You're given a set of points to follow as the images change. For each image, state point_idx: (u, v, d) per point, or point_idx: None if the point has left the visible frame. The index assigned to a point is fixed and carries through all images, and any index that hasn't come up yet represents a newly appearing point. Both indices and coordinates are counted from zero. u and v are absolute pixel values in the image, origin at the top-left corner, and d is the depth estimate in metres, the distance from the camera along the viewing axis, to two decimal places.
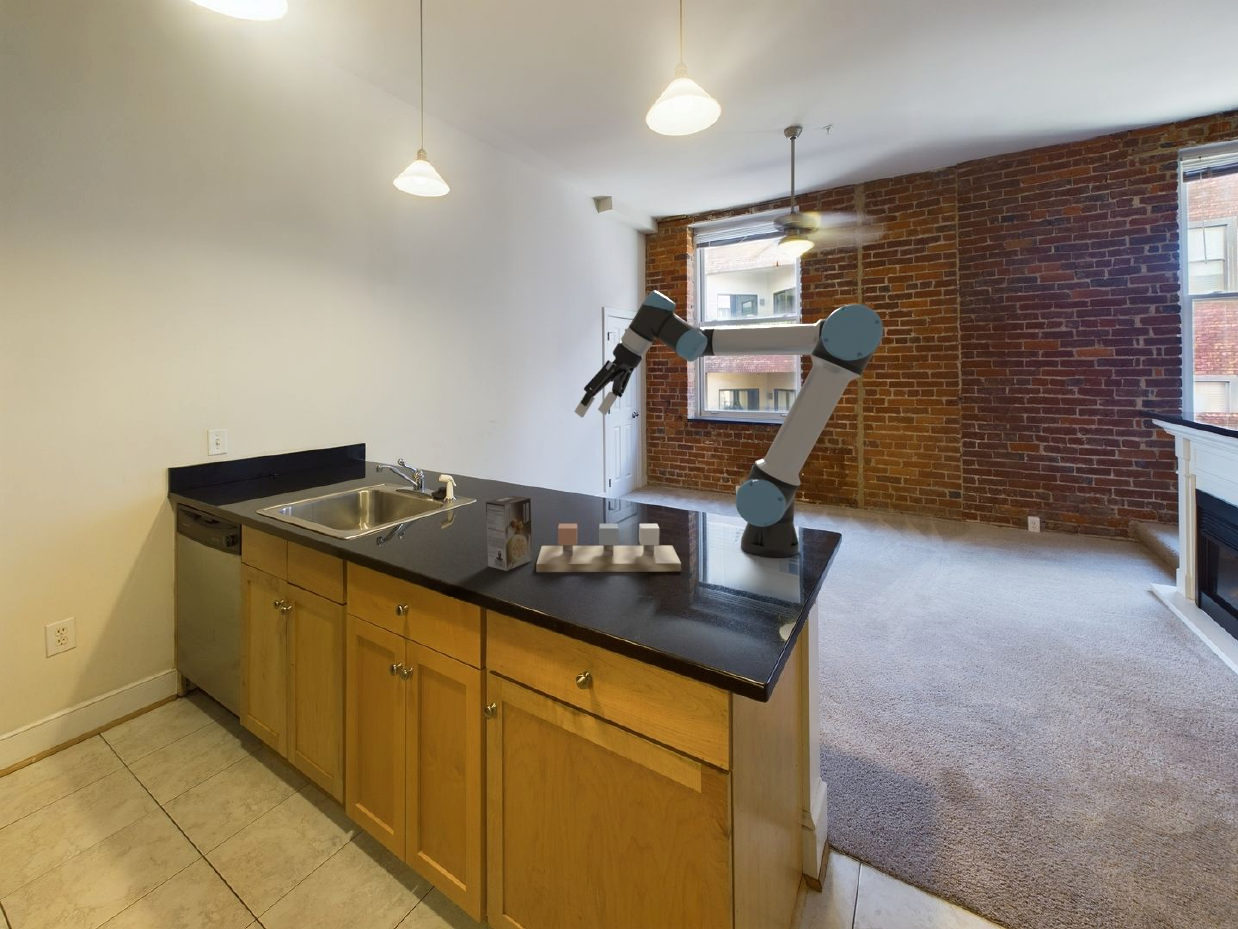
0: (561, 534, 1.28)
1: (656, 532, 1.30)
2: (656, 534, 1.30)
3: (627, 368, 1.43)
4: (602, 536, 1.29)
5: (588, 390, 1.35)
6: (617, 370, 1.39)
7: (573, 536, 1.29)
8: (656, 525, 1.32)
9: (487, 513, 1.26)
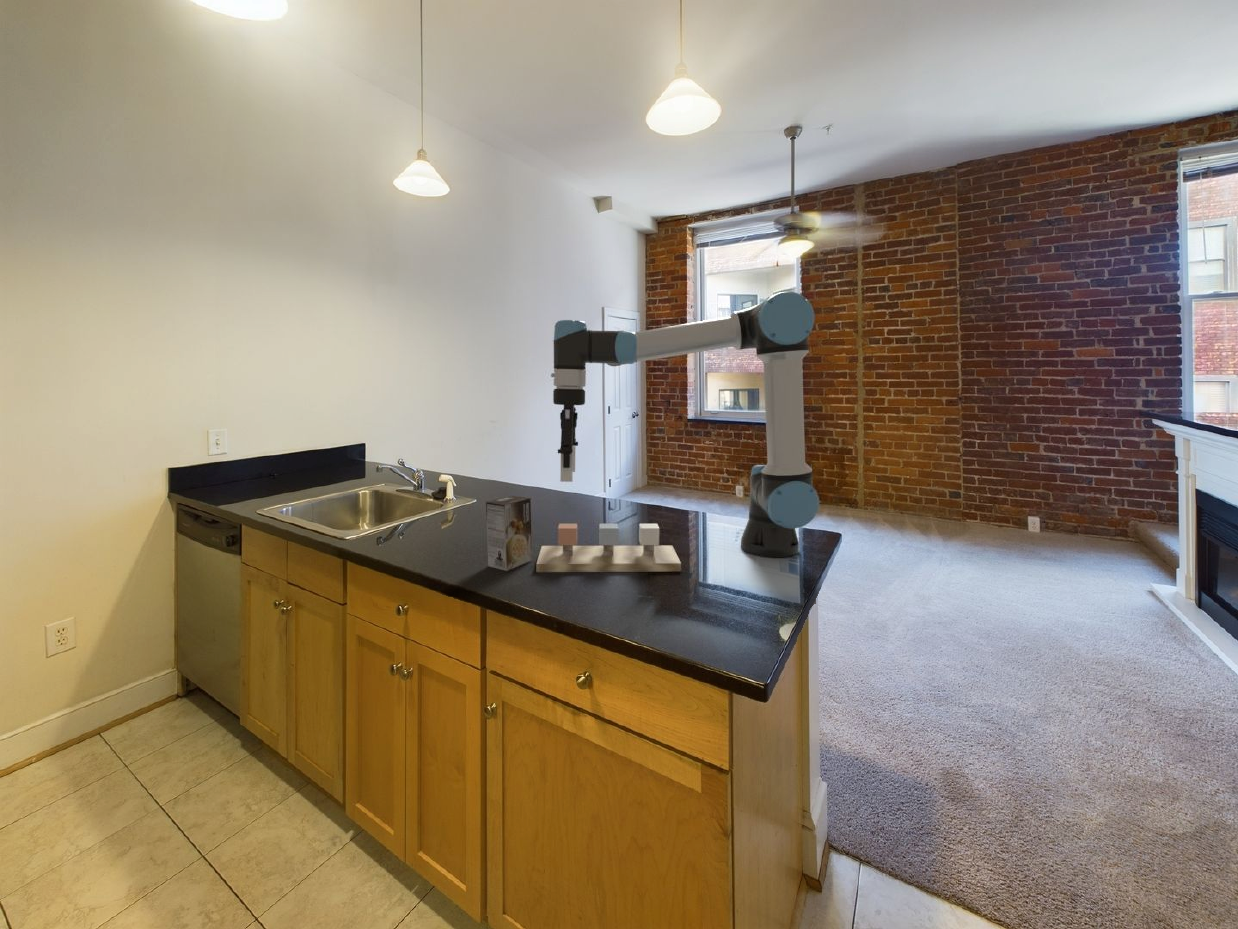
0: (561, 534, 1.28)
1: (656, 532, 1.30)
2: (656, 534, 1.30)
3: None
4: (602, 536, 1.29)
5: (566, 448, 1.18)
6: (573, 415, 1.24)
7: (573, 536, 1.29)
8: (656, 525, 1.32)
9: (487, 513, 1.26)
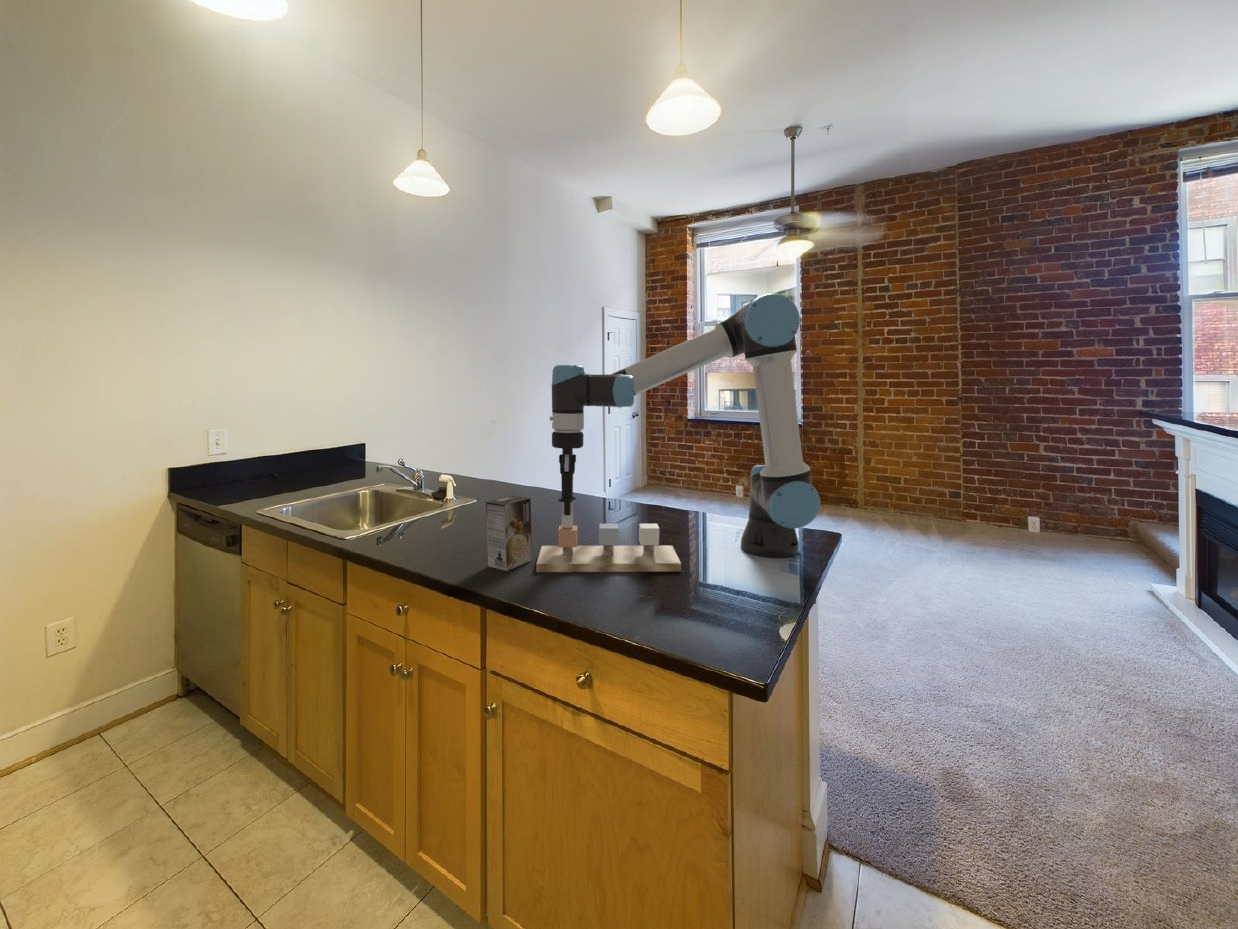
0: (561, 536, 1.29)
1: (656, 532, 1.30)
2: (656, 534, 1.30)
3: None
4: (602, 536, 1.29)
5: (567, 498, 1.26)
6: (571, 457, 1.25)
7: (573, 538, 1.29)
8: (656, 525, 1.32)
9: (487, 513, 1.26)
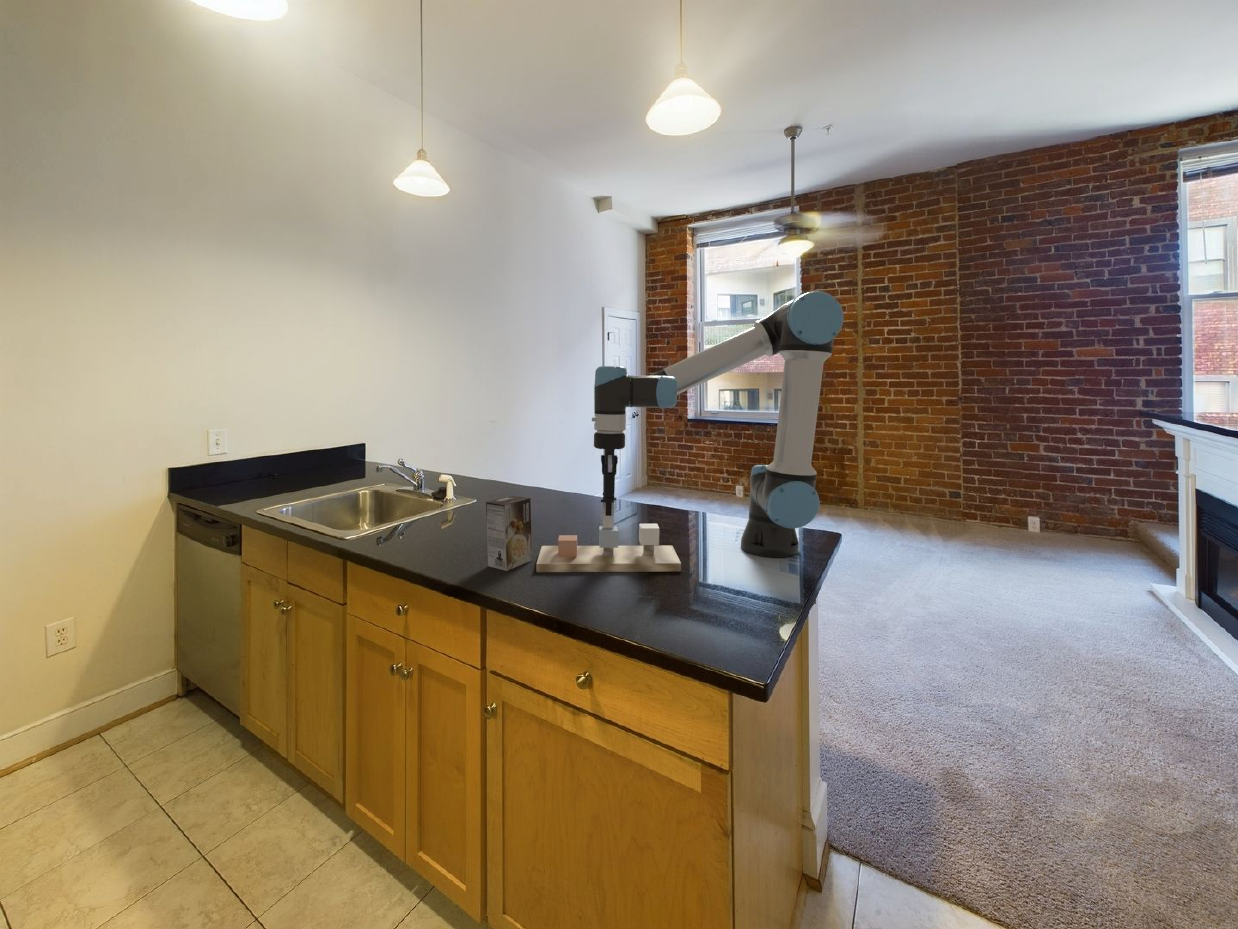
0: (561, 546, 1.29)
1: (656, 532, 1.30)
2: (656, 534, 1.30)
3: None
4: (602, 539, 1.29)
5: (609, 499, 1.26)
6: (614, 458, 1.26)
7: (573, 548, 1.29)
8: (656, 525, 1.32)
9: (487, 513, 1.26)
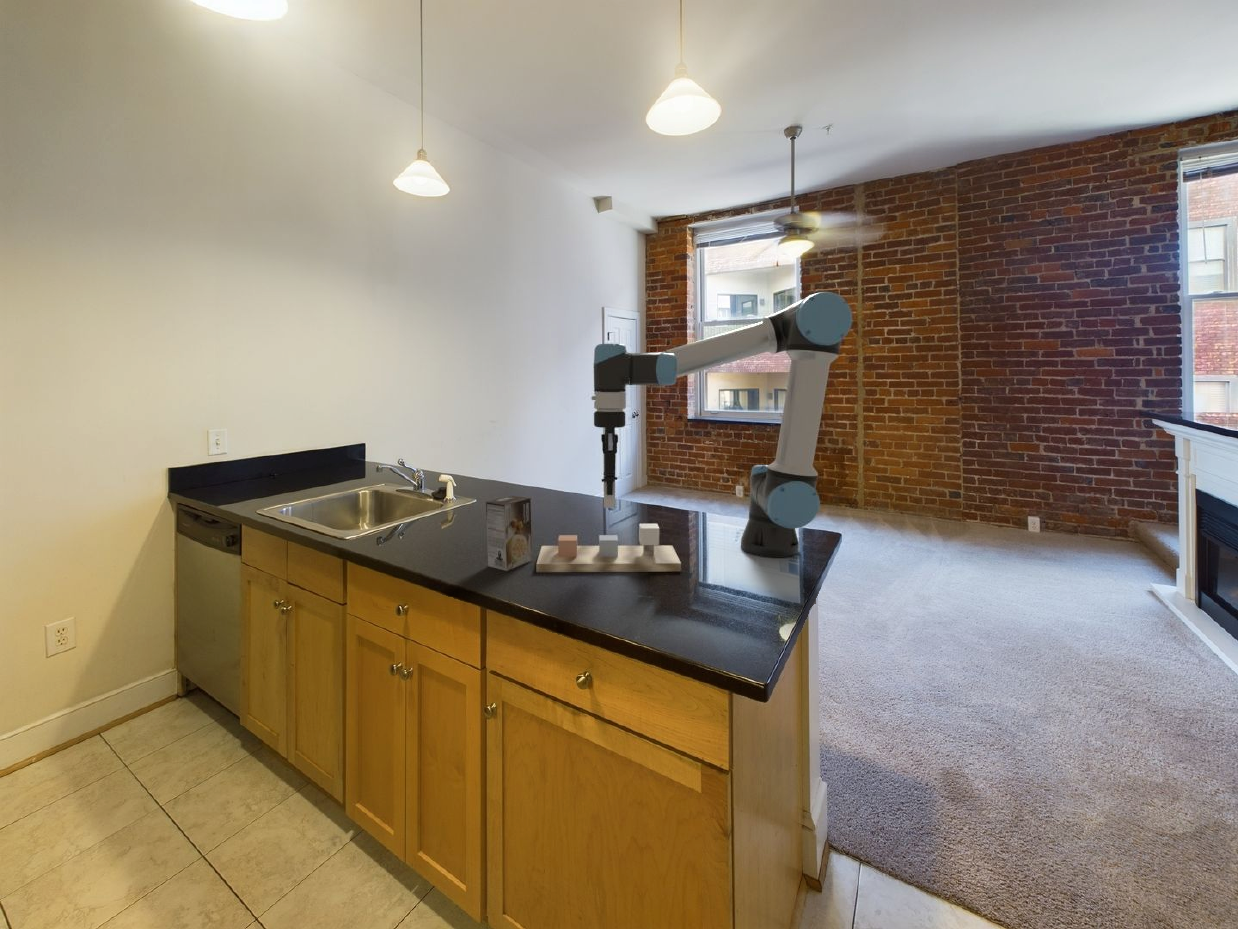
0: (561, 546, 1.29)
1: (656, 532, 1.30)
2: (656, 534, 1.30)
3: None
4: (602, 548, 1.30)
5: (610, 477, 1.26)
6: (614, 437, 1.25)
7: (573, 548, 1.29)
8: (656, 525, 1.32)
9: (487, 513, 1.26)
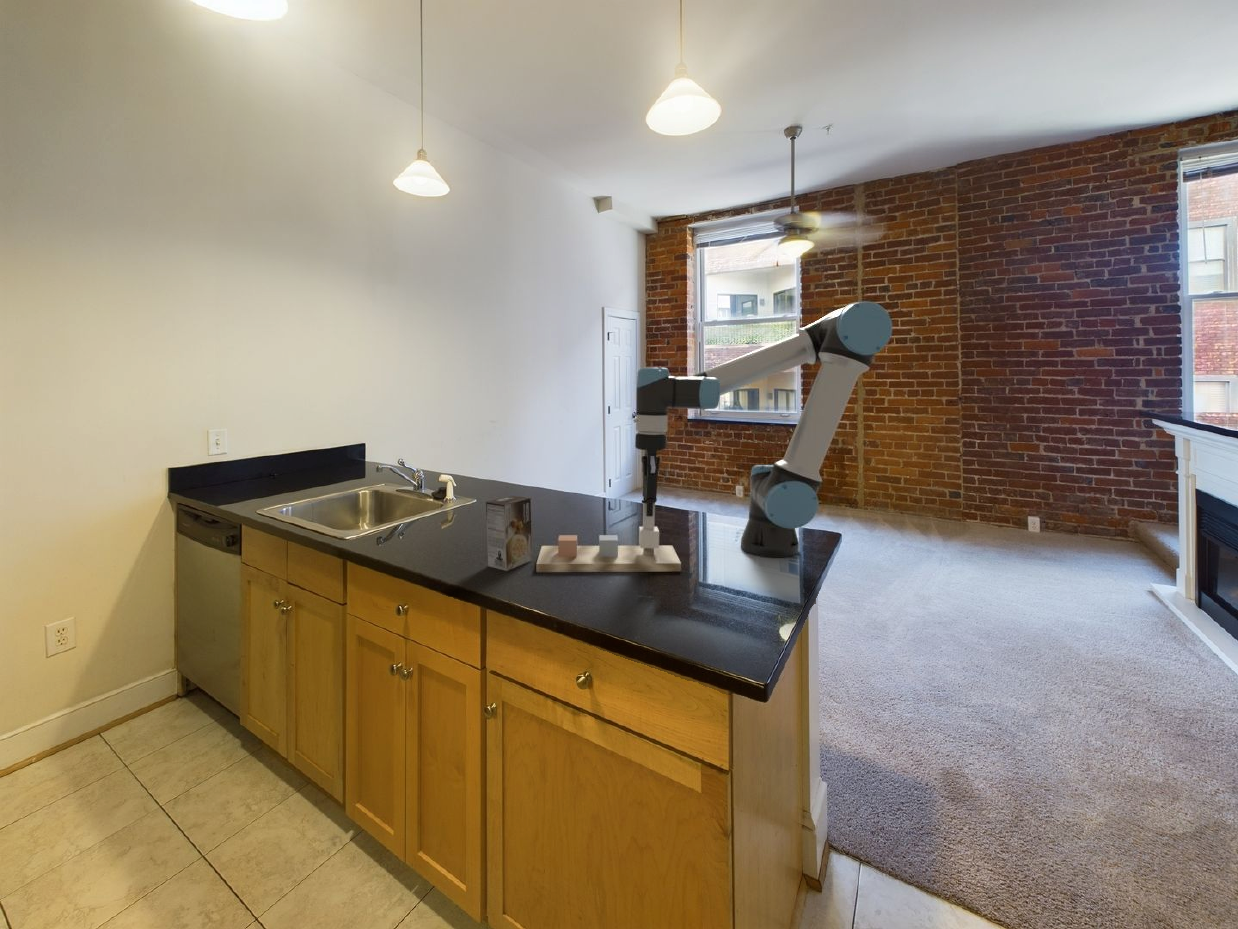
0: (561, 546, 1.29)
1: (656, 535, 1.30)
2: (656, 537, 1.30)
3: None
4: (602, 548, 1.30)
5: (651, 499, 1.27)
6: None
7: (573, 548, 1.29)
8: (656, 528, 1.32)
9: (487, 513, 1.26)
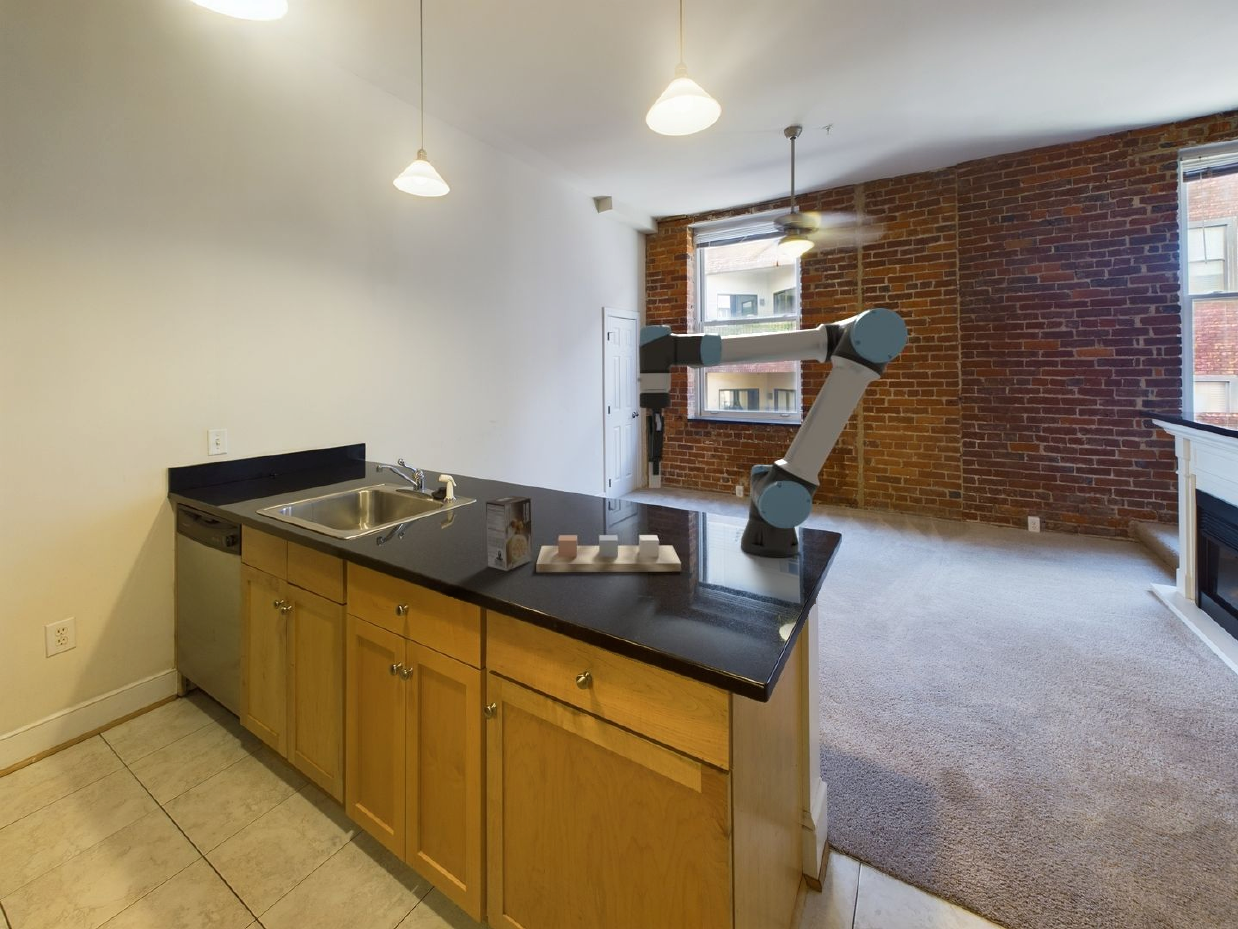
0: (561, 546, 1.29)
1: (656, 544, 1.30)
2: (656, 546, 1.30)
3: None
4: (602, 548, 1.30)
5: (658, 457, 1.28)
6: None
7: (573, 548, 1.29)
8: (656, 537, 1.33)
9: (487, 513, 1.26)
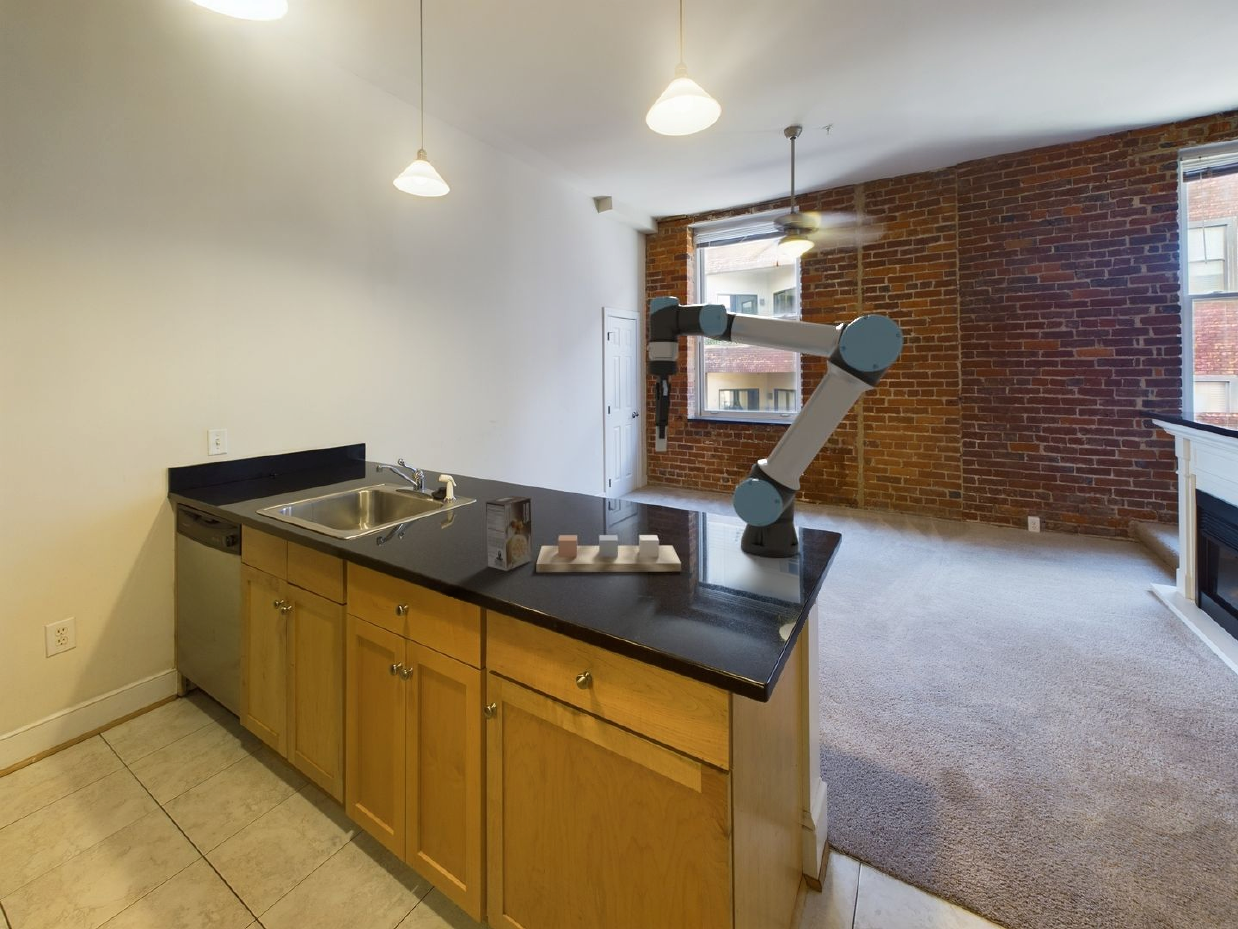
0: (561, 546, 1.29)
1: (656, 544, 1.30)
2: (656, 546, 1.30)
3: None
4: (602, 548, 1.30)
5: (664, 421, 1.36)
6: None
7: (573, 548, 1.29)
8: (656, 537, 1.33)
9: (487, 513, 1.26)
